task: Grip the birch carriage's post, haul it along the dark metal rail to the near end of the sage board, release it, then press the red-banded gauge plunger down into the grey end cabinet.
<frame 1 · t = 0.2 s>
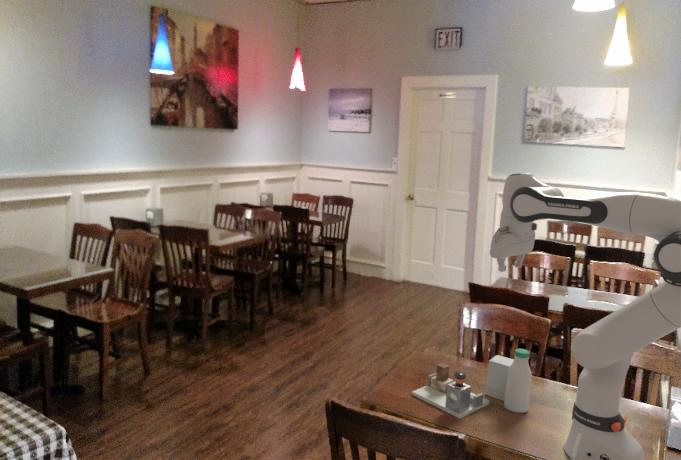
hand: (510, 269, 173), 47 cm above the table, fingers open, 8 cm apart
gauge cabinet: (456, 411, 180), resting on rail bed
supplement box: (499, 394, 193), on the table
milk bottle: (515, 408, 184), on the table
gauge plunger: (459, 385, 178), point 9 cm above the table, slide at 0.0 cm
carriage: (442, 376, 192), point 6 cm above the table, slide at 0.0 cm
rail bed: (450, 399, 188), on the table
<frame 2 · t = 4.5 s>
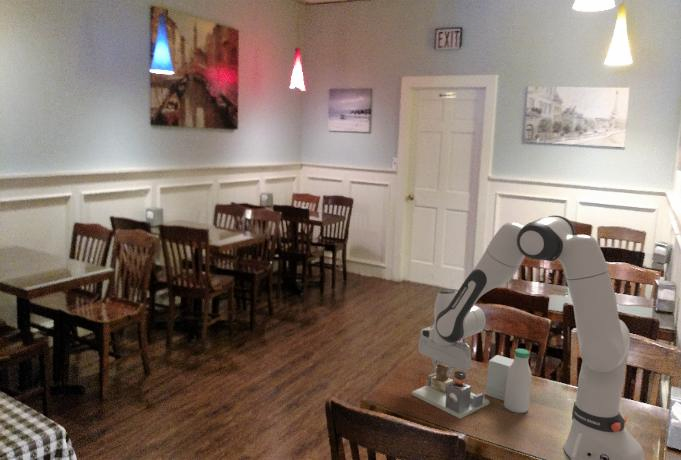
hand: (442, 373, 192), 7 cm above the table, fingers closed on carriage, 3 cm apart
carriage: (442, 376, 192), point 6 cm above the table, slide at 0.0 cm, touching gripper
everything else where it was.
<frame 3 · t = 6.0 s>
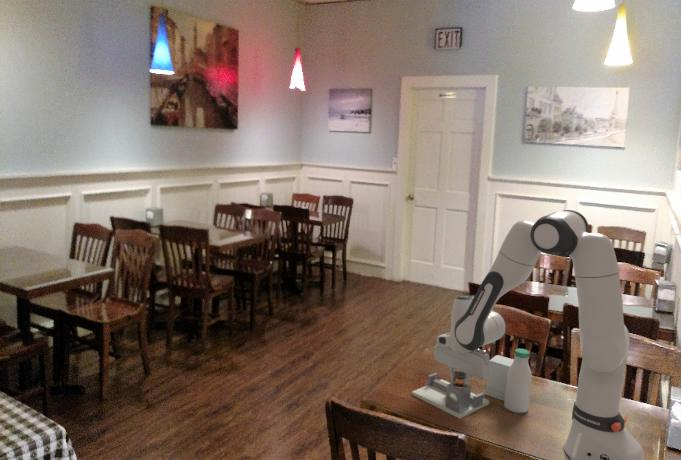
hand: (459, 381, 187), 6 cm above the table, fingers closed on carriage, 3 cm apart
carriage: (459, 384, 187), point 6 cm above the table, slide at 7.1 cm, touching gripper
everything else where it was.
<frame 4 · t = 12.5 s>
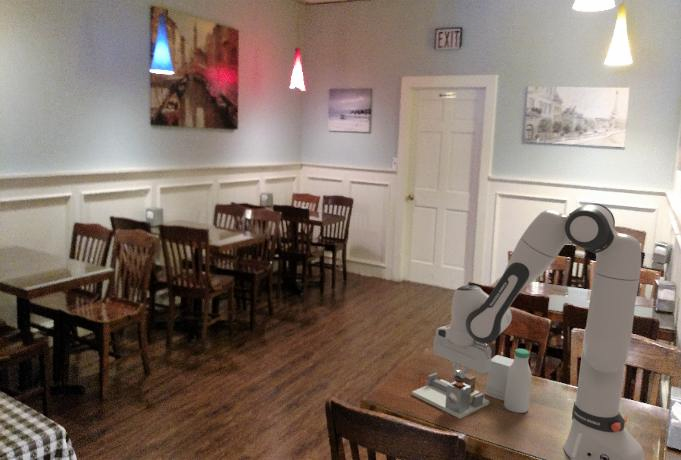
hand: (459, 376, 178), 12 cm above the table, fingers closed, pressing on gauge plunger
gauge plunger: (458, 388, 178), point 8 cm above the table, slide at 1.0 cm, touching gripper
carriage: (468, 388, 184), point 6 cm above the table, slide at 10.8 cm
everything else where it was.
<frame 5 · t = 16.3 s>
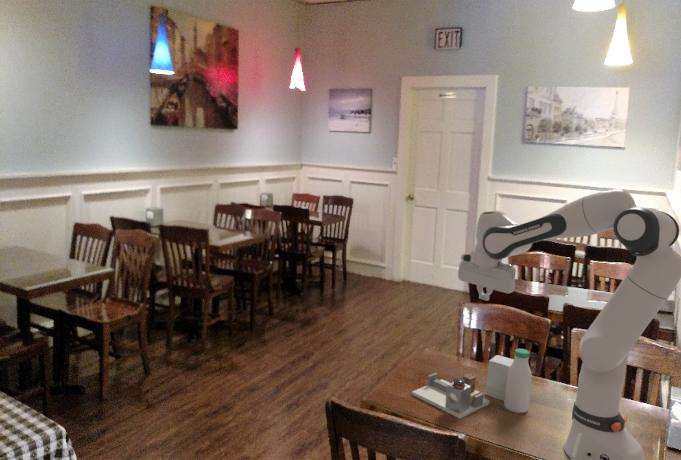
hand: (483, 299, 186), 34 cm above the table, fingers closed
gauge plunger: (458, 392, 179), point 7 cm above the table, slide at 2.4 cm
everything else where it was.
at the end: carriage slide at 10.8 cm; gauge plunger slide at 2.4 cm; the gripper is holding nothing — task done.
